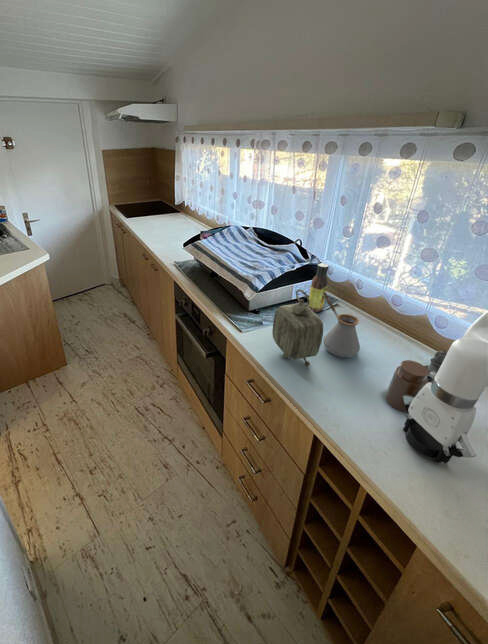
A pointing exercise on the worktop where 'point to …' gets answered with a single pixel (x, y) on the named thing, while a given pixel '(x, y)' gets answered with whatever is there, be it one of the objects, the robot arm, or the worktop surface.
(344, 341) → the coffee pot
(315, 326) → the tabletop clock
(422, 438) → the jar lid
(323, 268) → the sauce bottle
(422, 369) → the jar
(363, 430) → the worktop surface
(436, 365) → the grey stepped cylinder
